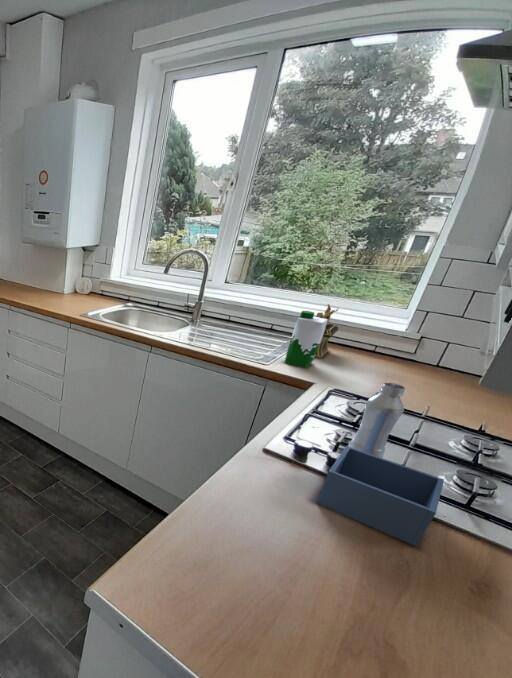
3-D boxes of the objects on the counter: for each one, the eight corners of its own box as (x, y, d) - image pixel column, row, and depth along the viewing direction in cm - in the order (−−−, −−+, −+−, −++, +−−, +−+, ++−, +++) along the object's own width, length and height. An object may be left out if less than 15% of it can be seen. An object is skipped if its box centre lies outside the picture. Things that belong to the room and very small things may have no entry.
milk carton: (288, 357, 165) (304, 309, 157) (314, 363, 159) (332, 313, 151) (281, 362, 160) (297, 312, 152) (308, 369, 154) (326, 317, 145)
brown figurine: (322, 359, 163) (340, 311, 155) (294, 353, 170) (310, 307, 161) (333, 349, 176) (350, 303, 168) (306, 343, 182) (321, 299, 174)
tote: (426, 511, 84) (444, 479, 80) (416, 546, 75) (435, 512, 71) (333, 474, 94) (346, 445, 91) (315, 502, 85) (328, 471, 82)
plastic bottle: (381, 471, 96) (418, 394, 88) (345, 461, 99) (378, 387, 91) (376, 457, 101) (410, 384, 93) (342, 449, 104) (372, 377, 96)
